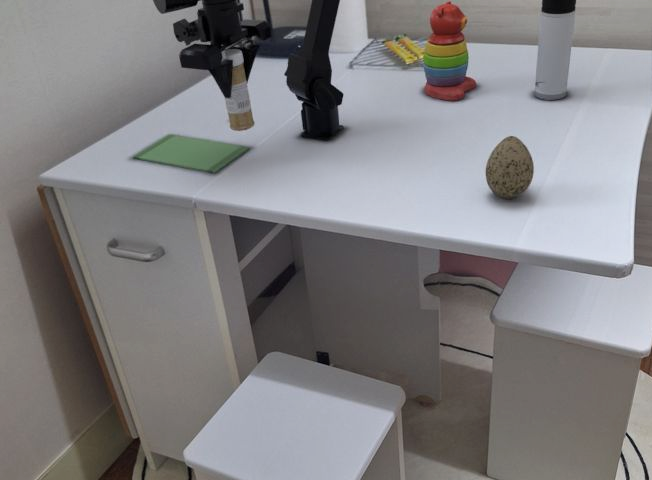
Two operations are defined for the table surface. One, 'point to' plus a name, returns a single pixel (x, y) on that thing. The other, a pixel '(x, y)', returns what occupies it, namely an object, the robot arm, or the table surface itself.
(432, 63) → the stacking bear
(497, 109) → the table surface
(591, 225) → the table surface
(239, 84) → the sprinkles bottle
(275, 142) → the table surface
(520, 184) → the decorative egg
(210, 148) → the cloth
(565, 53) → the travel mug
